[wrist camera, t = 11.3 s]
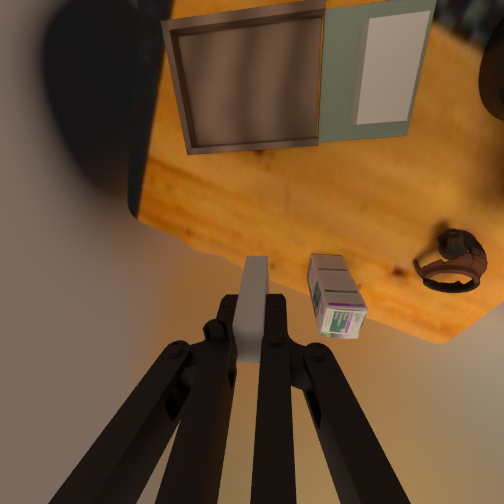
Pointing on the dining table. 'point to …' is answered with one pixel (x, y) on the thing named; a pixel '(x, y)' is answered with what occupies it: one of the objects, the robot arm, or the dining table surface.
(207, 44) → the walnut box
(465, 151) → the dining table surface
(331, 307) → the syrup box
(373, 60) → the light grey block
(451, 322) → the dining table surface
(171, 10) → the dining table surface
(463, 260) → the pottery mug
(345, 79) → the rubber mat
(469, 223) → the dining table surface
